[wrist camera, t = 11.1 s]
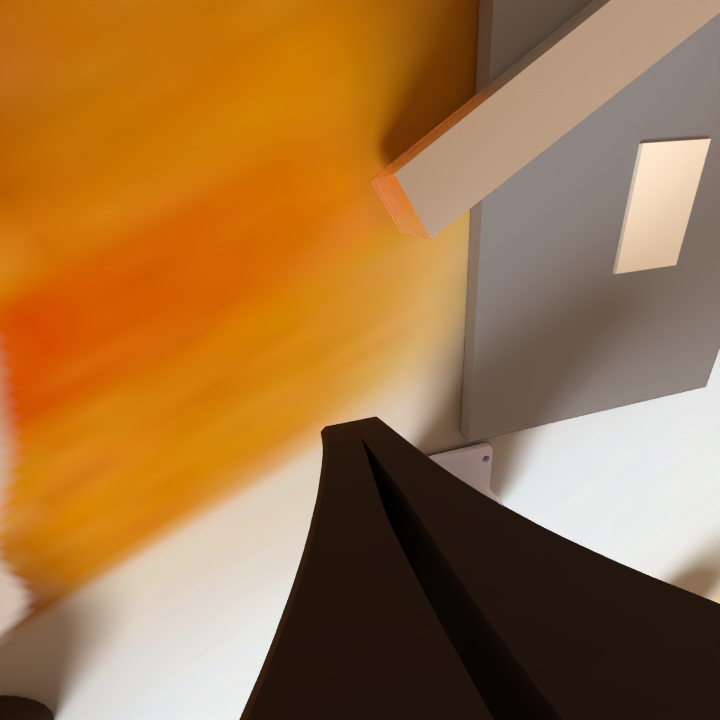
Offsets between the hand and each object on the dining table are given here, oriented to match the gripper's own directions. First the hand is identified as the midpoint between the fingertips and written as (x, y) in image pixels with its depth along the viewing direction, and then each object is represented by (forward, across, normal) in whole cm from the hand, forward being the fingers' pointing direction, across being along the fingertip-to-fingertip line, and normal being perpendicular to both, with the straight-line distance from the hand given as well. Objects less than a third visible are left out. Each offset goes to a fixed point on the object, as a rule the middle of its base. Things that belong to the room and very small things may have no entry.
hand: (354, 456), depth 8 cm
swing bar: (+9, -12, -10) cm, 18 cm away
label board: (+10, -17, -4) cm, 20 cm away
